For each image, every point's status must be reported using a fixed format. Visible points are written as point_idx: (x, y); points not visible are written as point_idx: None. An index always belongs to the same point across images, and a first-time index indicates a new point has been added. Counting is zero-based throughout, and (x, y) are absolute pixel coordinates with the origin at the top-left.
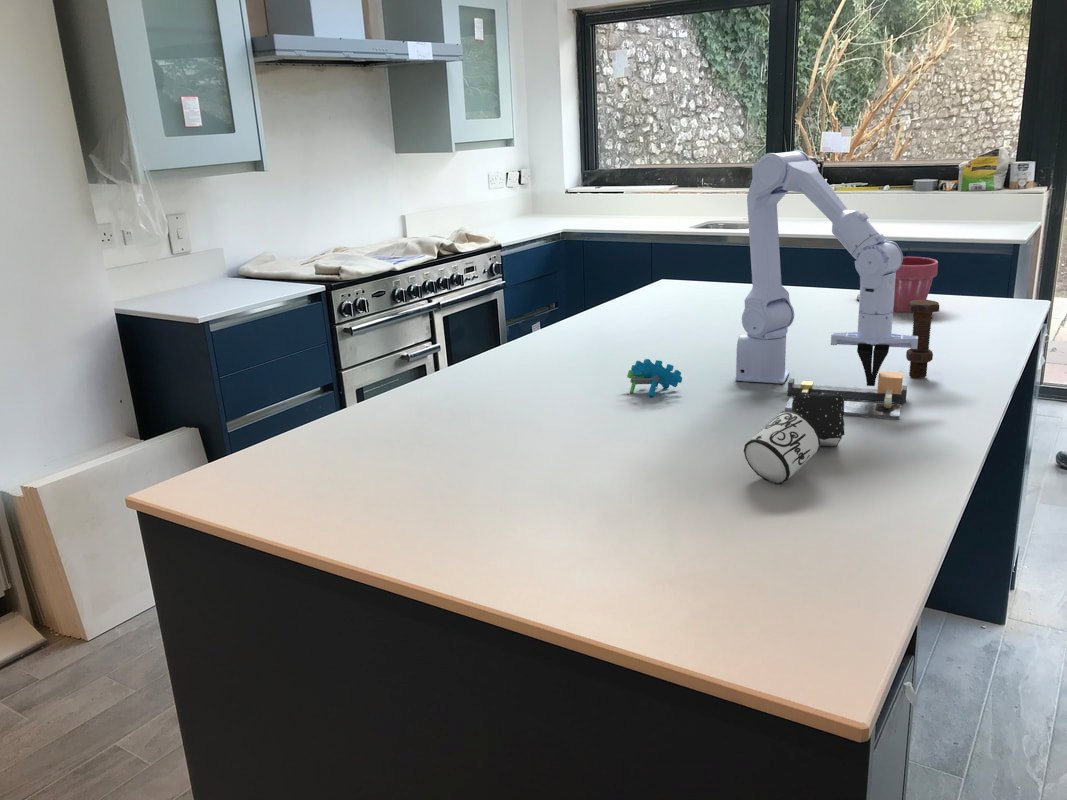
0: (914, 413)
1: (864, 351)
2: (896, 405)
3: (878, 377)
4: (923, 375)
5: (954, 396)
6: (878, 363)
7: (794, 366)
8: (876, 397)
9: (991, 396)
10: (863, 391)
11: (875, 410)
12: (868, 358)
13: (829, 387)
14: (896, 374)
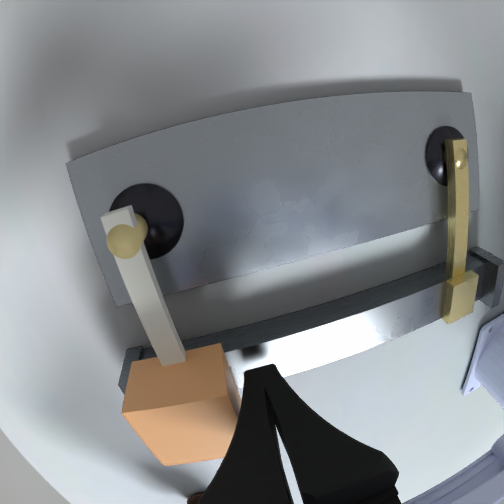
0: (58, 266)
1: (354, 483)
2: (126, 293)
3: (226, 392)
4: (189, 501)
5: (71, 437)
6: (242, 454)
7: (443, 429)
8: (225, 341)
9: (27, 447)
10: (280, 347)
11: (174, 187)
12: (308, 458)
13: (398, 325)
14: (171, 444)
